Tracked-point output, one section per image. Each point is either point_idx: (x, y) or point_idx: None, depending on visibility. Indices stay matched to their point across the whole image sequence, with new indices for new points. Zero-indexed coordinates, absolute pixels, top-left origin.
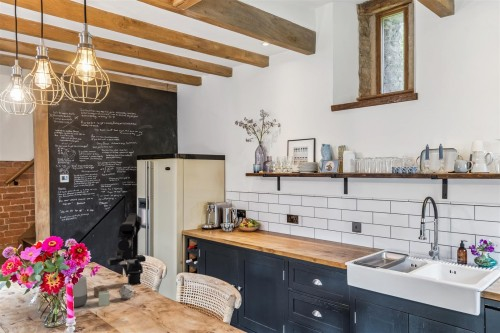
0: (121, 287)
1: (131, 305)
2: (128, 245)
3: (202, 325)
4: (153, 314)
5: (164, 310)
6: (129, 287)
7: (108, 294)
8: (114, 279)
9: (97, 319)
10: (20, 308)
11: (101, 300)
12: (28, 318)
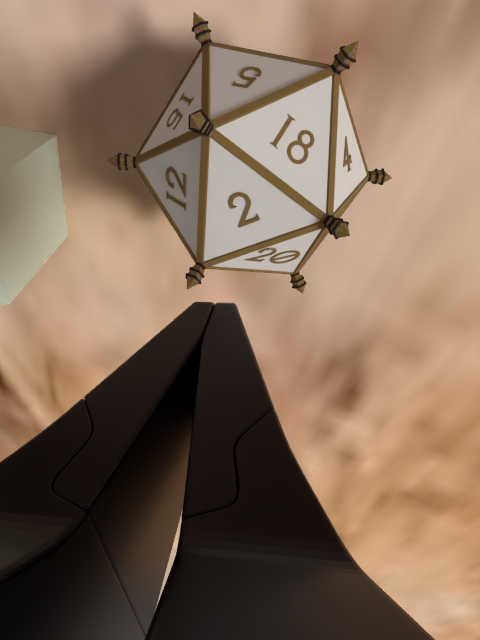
0: (167, 149)
1: (260, 335)
2: None
3: (460, 634)
4: (338, 505)
5: (428, 496)
6: (279, 254)
7: (4, 297)
8: None
9: (18, 428)
10: None
11: None
12: None
